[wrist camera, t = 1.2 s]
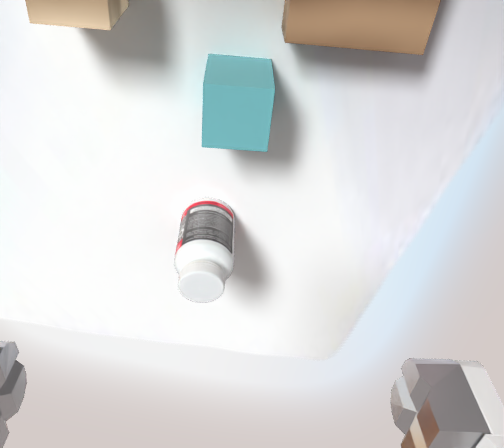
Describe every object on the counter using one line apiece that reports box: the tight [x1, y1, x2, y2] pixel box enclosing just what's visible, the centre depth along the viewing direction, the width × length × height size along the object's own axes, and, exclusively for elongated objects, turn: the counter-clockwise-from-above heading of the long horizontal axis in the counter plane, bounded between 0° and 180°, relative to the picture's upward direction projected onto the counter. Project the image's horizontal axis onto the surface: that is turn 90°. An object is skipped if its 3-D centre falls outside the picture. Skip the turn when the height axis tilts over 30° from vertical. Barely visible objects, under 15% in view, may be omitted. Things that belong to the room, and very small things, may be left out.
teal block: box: [202, 54, 275, 152], centre depth 36 cm, size 5×5×6 cm
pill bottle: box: [174, 197, 235, 303], centre depth 43 cm, size 5×5×10 cm
